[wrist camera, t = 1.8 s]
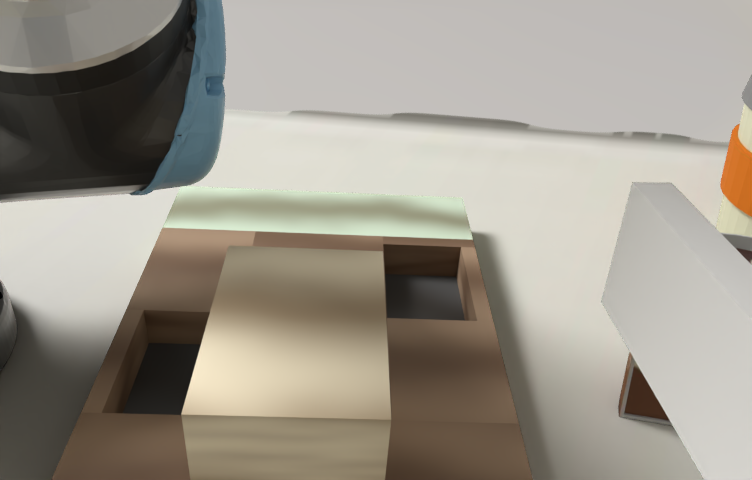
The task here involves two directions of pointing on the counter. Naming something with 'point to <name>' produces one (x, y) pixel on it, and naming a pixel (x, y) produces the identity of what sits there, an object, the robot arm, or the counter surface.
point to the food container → (635, 388)
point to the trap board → (403, 318)
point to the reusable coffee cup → (738, 175)
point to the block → (292, 369)
